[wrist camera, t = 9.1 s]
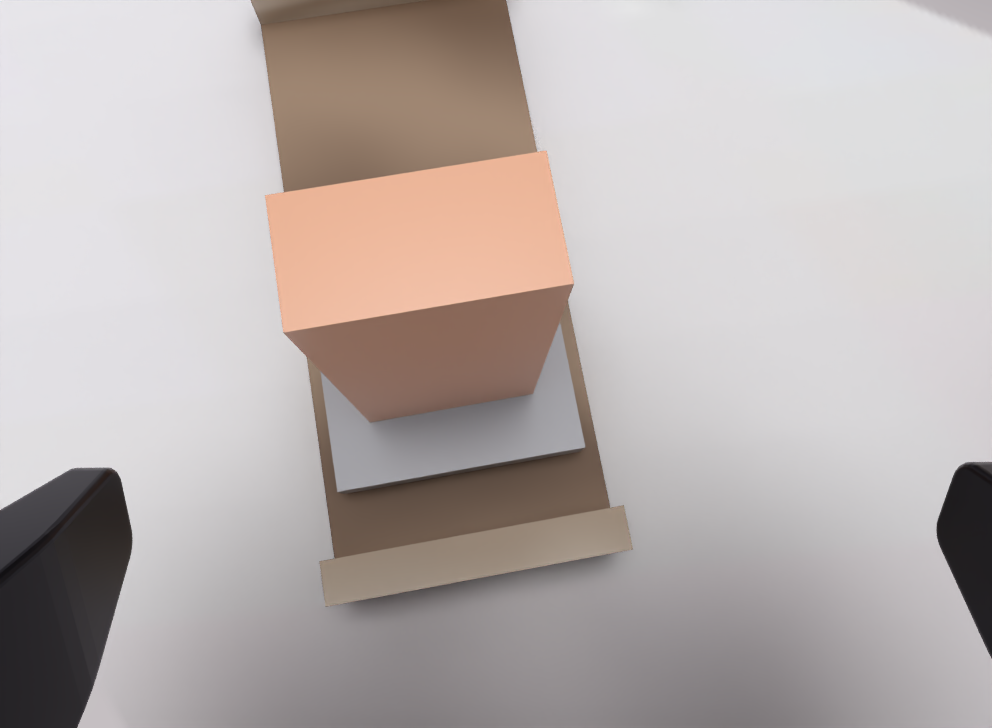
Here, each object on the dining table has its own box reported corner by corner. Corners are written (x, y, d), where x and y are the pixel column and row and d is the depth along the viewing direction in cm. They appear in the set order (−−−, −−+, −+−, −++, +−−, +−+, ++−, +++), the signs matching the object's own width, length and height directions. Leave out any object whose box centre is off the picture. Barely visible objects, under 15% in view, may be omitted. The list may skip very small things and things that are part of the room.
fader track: (611, 547, 22) (632, 549, 19) (346, 597, 21) (325, 606, 18) (496, -19, 25) (498, -92, 22) (265, 15, 25) (236, -55, 22)
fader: (580, 451, 21) (668, 376, 11) (344, 493, 21) (221, 455, 11) (542, 264, 22) (593, 46, 12) (317, 302, 22) (182, 109, 12)
